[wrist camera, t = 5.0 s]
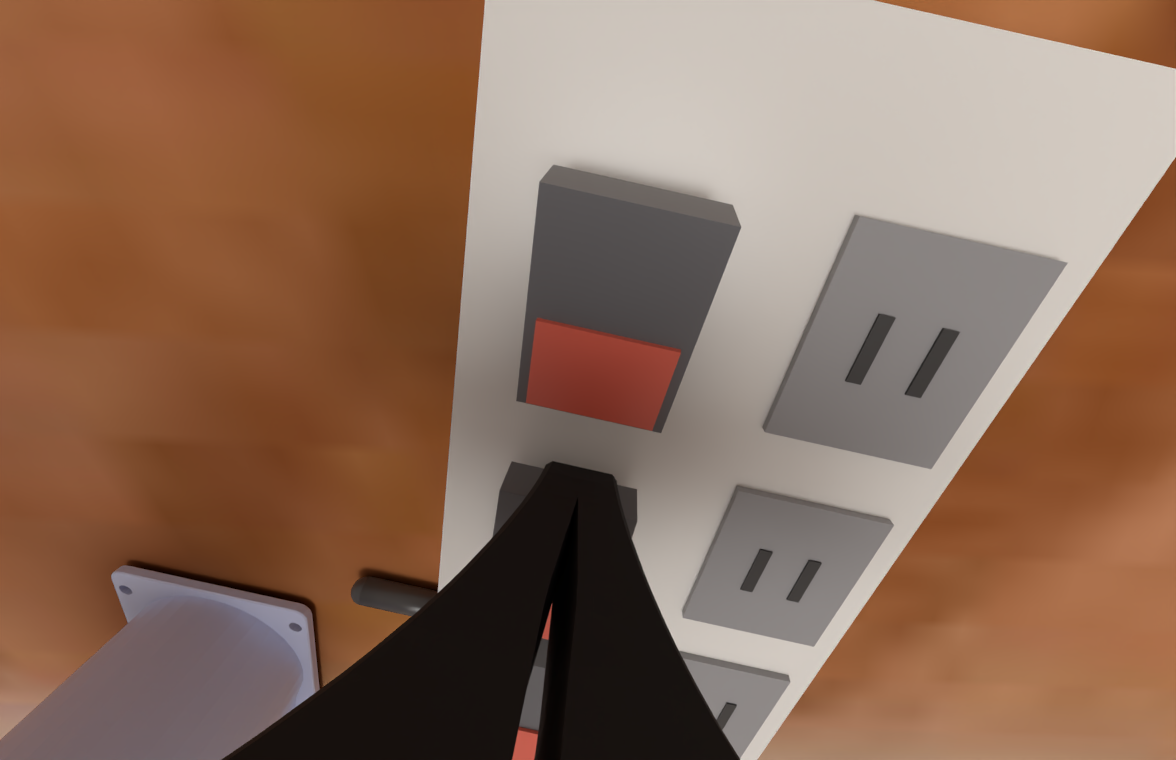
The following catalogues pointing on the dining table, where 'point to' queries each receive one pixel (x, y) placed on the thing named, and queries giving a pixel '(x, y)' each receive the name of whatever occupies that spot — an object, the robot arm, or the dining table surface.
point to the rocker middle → (520, 485)
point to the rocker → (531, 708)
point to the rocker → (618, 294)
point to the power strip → (791, 288)
